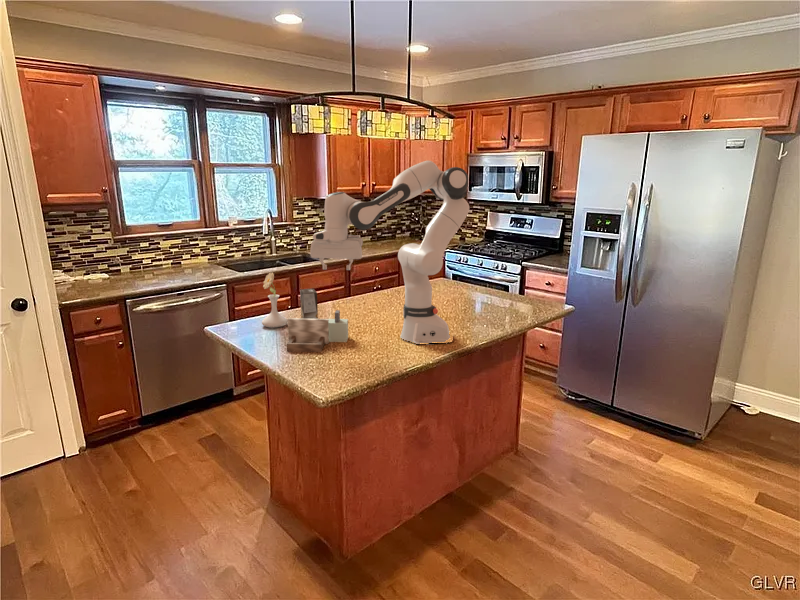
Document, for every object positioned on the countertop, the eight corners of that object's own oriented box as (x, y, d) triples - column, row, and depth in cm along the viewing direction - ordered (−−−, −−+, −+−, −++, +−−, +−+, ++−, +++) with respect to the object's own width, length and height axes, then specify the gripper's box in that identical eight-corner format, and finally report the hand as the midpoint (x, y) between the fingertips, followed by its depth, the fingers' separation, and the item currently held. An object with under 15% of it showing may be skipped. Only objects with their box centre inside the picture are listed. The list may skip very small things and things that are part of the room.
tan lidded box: (328, 342, 192) (328, 318, 189) (324, 352, 181) (324, 327, 179) (289, 341, 192) (288, 318, 189) (283, 351, 181) (281, 326, 179)
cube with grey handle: (348, 337, 198) (347, 309, 195) (346, 342, 193) (346, 313, 190) (329, 337, 198) (328, 309, 195) (326, 341, 193) (326, 313, 190)
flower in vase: (262, 322, 216) (259, 268, 210) (288, 321, 218) (286, 268, 212) (260, 331, 204) (257, 274, 197) (287, 330, 206) (285, 273, 200)
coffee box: (318, 327, 210) (317, 292, 206) (304, 329, 208) (302, 293, 204) (314, 322, 218) (313, 288, 214) (300, 323, 216) (299, 289, 212)
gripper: (363, 234, 188) (363, 268, 191) (312, 233, 188) (312, 267, 191) (362, 236, 182) (362, 271, 185) (308, 235, 182) (309, 270, 185)
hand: (336, 269), depth 188 cm, fingers open, 8 cm apart
